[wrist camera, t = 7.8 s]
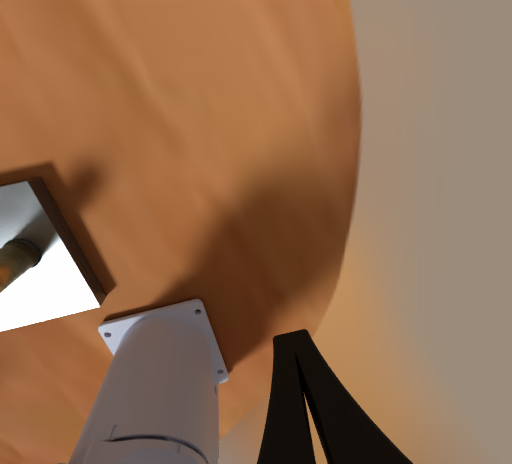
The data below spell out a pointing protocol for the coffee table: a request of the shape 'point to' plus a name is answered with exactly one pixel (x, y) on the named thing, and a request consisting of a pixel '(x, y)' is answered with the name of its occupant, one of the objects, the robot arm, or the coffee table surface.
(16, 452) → the coffee table surface
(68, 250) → the plate
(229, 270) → the coffee table surface
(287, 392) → the robot arm
